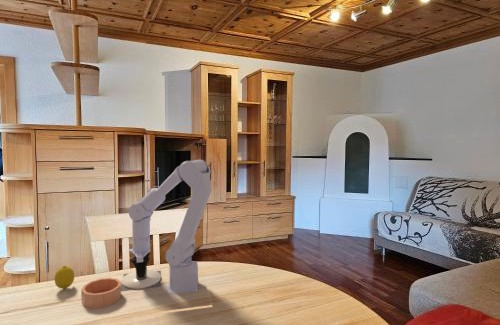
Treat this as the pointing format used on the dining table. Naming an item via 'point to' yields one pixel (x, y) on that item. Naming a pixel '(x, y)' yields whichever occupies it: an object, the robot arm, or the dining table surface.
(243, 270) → the dining table surface
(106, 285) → the bowl
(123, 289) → the mat
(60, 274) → the lemon
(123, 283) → the lid
